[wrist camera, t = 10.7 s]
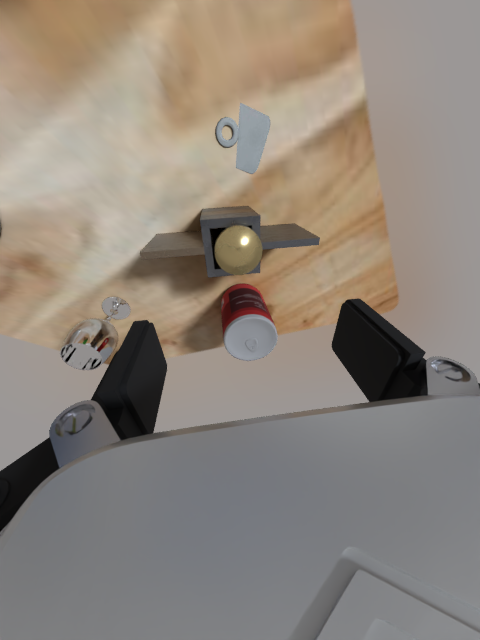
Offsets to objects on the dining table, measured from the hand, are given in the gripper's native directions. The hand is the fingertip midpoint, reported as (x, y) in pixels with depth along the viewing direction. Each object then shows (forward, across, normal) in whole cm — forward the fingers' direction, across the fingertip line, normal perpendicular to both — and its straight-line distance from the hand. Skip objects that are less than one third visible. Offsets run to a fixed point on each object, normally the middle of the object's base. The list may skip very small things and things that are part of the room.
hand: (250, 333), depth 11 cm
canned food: (+26, -2, +13) cm, 29 cm away
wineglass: (+26, +19, +11) cm, 34 cm away
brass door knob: (+25, -1, 0) cm, 25 cm away
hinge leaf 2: (+25, -4, 0) cm, 26 cm away
